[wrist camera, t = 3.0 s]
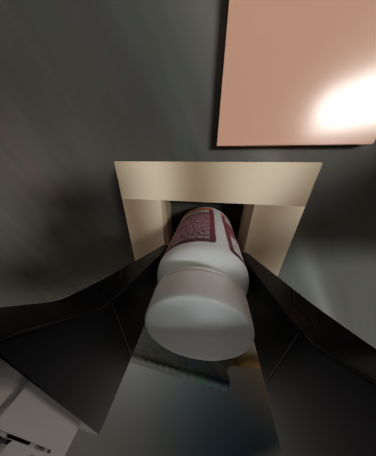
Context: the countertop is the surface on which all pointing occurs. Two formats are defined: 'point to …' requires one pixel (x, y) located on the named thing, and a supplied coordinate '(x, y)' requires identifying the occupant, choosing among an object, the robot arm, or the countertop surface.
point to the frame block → (218, 201)
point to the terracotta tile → (299, 73)
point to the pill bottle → (202, 291)
